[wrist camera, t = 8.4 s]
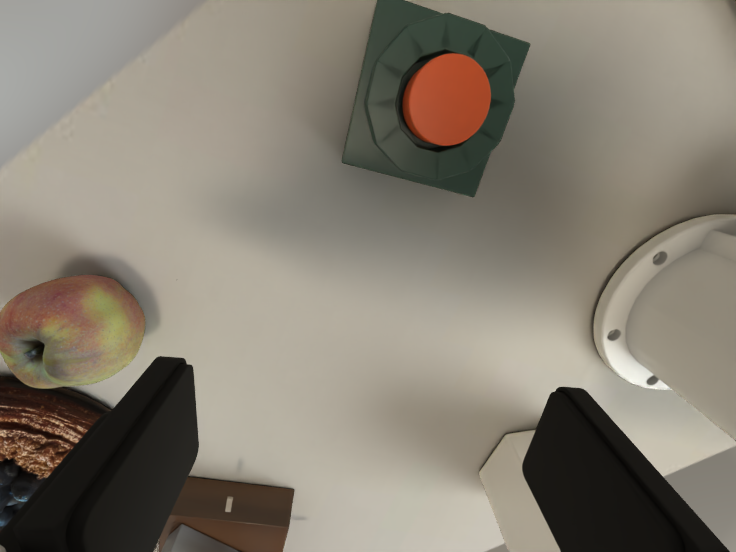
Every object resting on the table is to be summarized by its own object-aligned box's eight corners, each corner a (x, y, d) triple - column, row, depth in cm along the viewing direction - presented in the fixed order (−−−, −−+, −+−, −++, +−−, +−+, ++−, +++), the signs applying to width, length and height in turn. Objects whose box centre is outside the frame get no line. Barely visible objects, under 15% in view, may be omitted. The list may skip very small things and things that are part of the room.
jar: (598, 467, 30) (745, 665, 19) (515, 511, 32) (605, 718, 21) (551, 405, 27) (693, 598, 16) (462, 457, 29) (534, 665, 18)
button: (415, 50, 14) (423, 40, 13) (487, 73, 15) (504, 67, 13) (393, 133, 16) (398, 133, 14) (461, 151, 16) (473, 154, 14)
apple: (198, 294, 22) (149, 349, 16) (119, 367, 24) (52, 440, 18) (111, 222, 20) (23, 259, 14) (32, 308, 22) (-73, 370, 16)
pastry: (-61, 465, 26) (-169, 555, 20) (-8, 352, 22) (-120, 424, 17) (92, 519, 29) (33, 610, 23) (159, 427, 25) (108, 508, 20)
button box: (375, 7, 17) (383, -26, 13) (510, 52, 18) (553, 33, 14) (341, 158, 19) (340, 166, 16) (461, 190, 20) (487, 204, 17)
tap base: (158, 448, 26) (135, 487, 24) (320, 469, 28) (317, 508, 25) (153, 559, 31) (133, 603, 29) (290, 571, 33) (285, 613, 30)
